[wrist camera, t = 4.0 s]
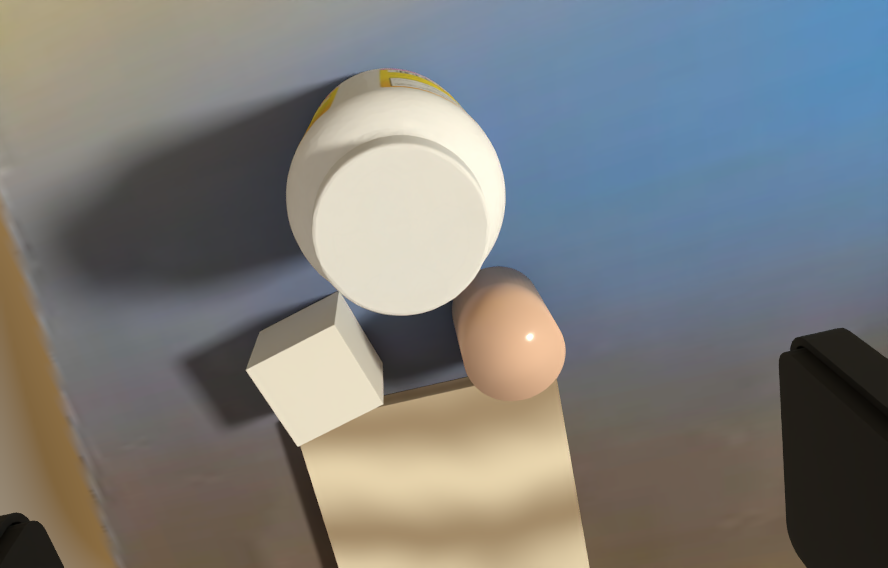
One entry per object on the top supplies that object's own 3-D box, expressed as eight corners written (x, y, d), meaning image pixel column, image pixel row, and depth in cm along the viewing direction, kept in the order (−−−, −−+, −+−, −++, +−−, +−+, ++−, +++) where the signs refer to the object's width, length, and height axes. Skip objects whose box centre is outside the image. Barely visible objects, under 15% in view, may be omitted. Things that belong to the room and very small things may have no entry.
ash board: (296, 415, 36) (294, 426, 35) (549, 358, 36) (554, 367, 35) (367, 645, 41) (367, 660, 40) (591, 594, 41) (596, 608, 40)
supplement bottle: (340, 246, 33) (320, 381, 21) (285, 95, 31) (226, 150, 19) (489, 199, 33) (554, 309, 21) (445, 44, 31) (488, 67, 19)
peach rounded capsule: (443, 277, 34) (454, 320, 29) (532, 257, 34) (557, 297, 29) (461, 357, 36) (474, 411, 31) (546, 338, 36) (572, 388, 31)
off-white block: (260, 330, 34) (245, 369, 31) (338, 289, 34) (334, 324, 30) (306, 401, 36) (297, 446, 32) (382, 362, 35) (383, 404, 32)
